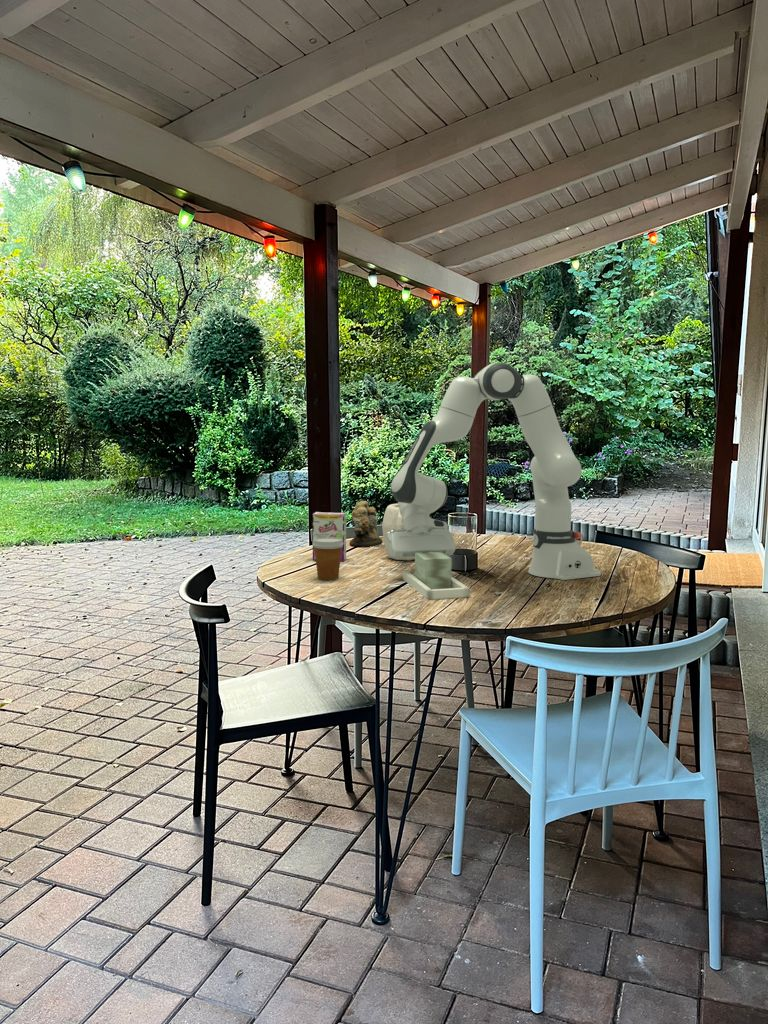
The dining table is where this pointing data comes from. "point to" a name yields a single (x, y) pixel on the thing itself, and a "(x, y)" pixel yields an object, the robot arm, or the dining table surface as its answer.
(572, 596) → the dining table surface
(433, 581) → the sage block
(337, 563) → the disposable coffee cup
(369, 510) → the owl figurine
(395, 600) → the dining table surface
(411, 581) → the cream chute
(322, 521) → the candy bar box
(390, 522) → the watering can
